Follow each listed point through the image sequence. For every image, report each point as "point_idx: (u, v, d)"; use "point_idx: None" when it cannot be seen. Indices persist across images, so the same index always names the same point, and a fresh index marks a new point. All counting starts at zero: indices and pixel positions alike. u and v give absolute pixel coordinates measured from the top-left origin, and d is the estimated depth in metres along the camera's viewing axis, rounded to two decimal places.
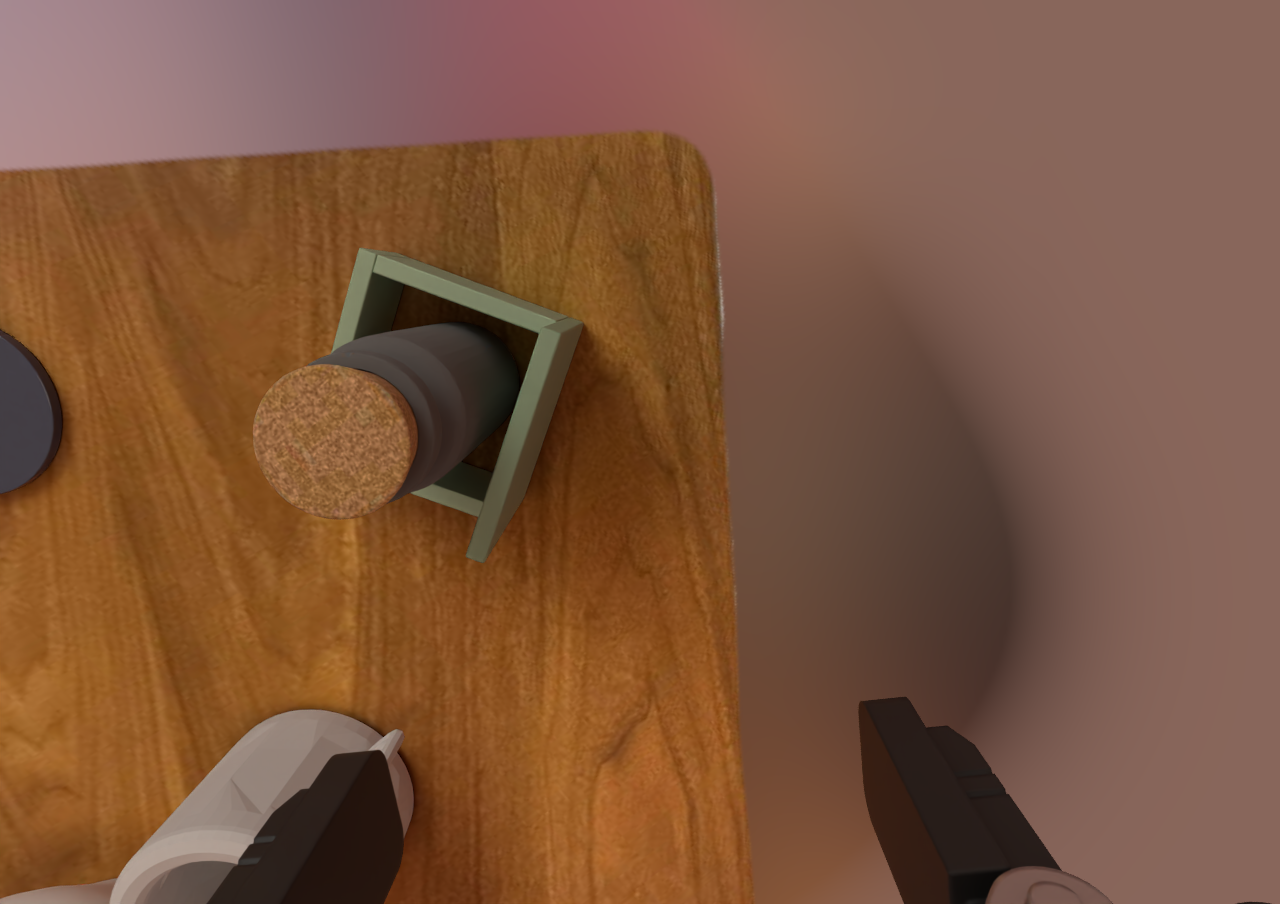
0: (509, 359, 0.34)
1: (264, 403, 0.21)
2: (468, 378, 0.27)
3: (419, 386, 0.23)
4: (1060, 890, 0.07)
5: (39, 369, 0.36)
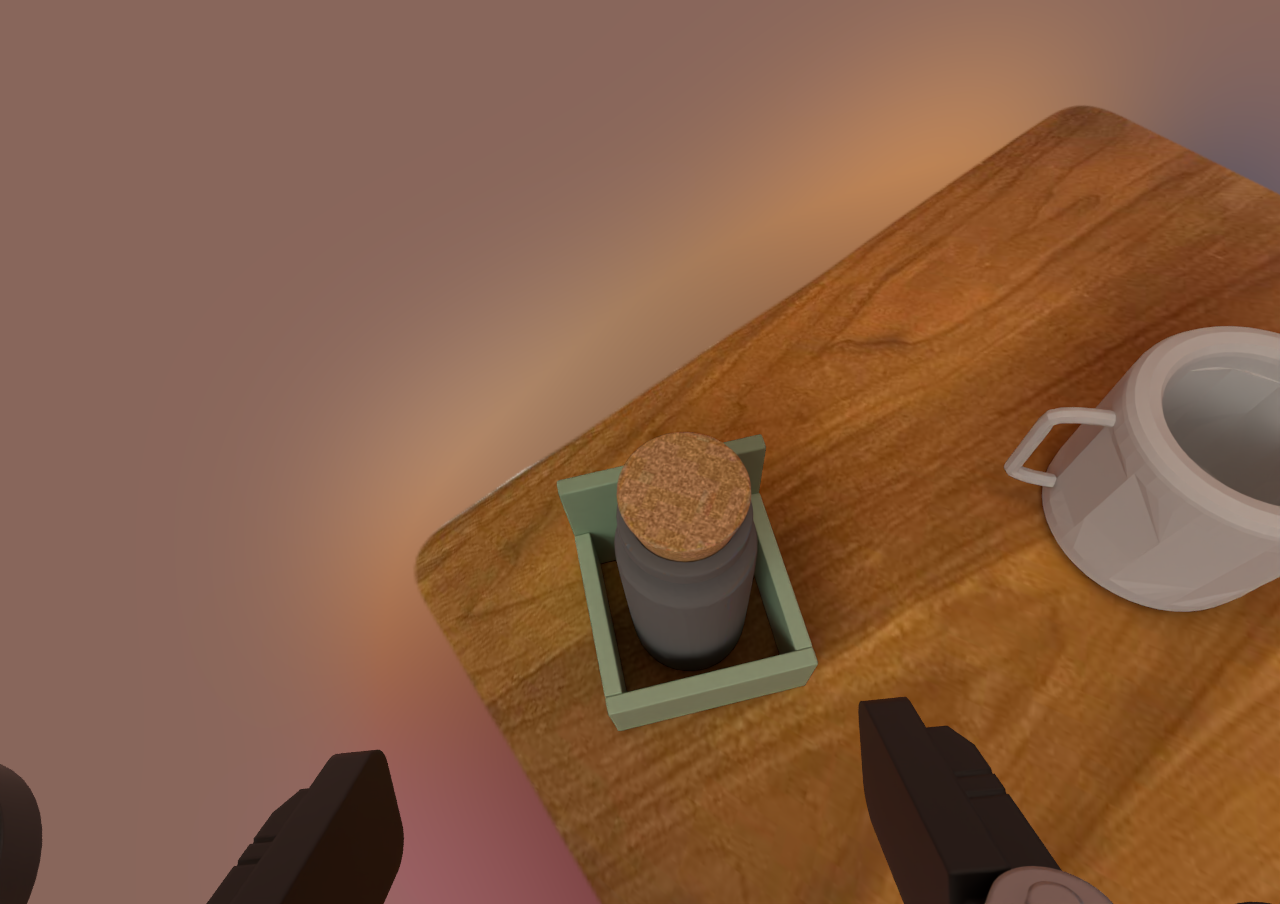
0: None
1: (684, 547, 0.24)
2: None
3: None
4: (1060, 890, 0.07)
5: None
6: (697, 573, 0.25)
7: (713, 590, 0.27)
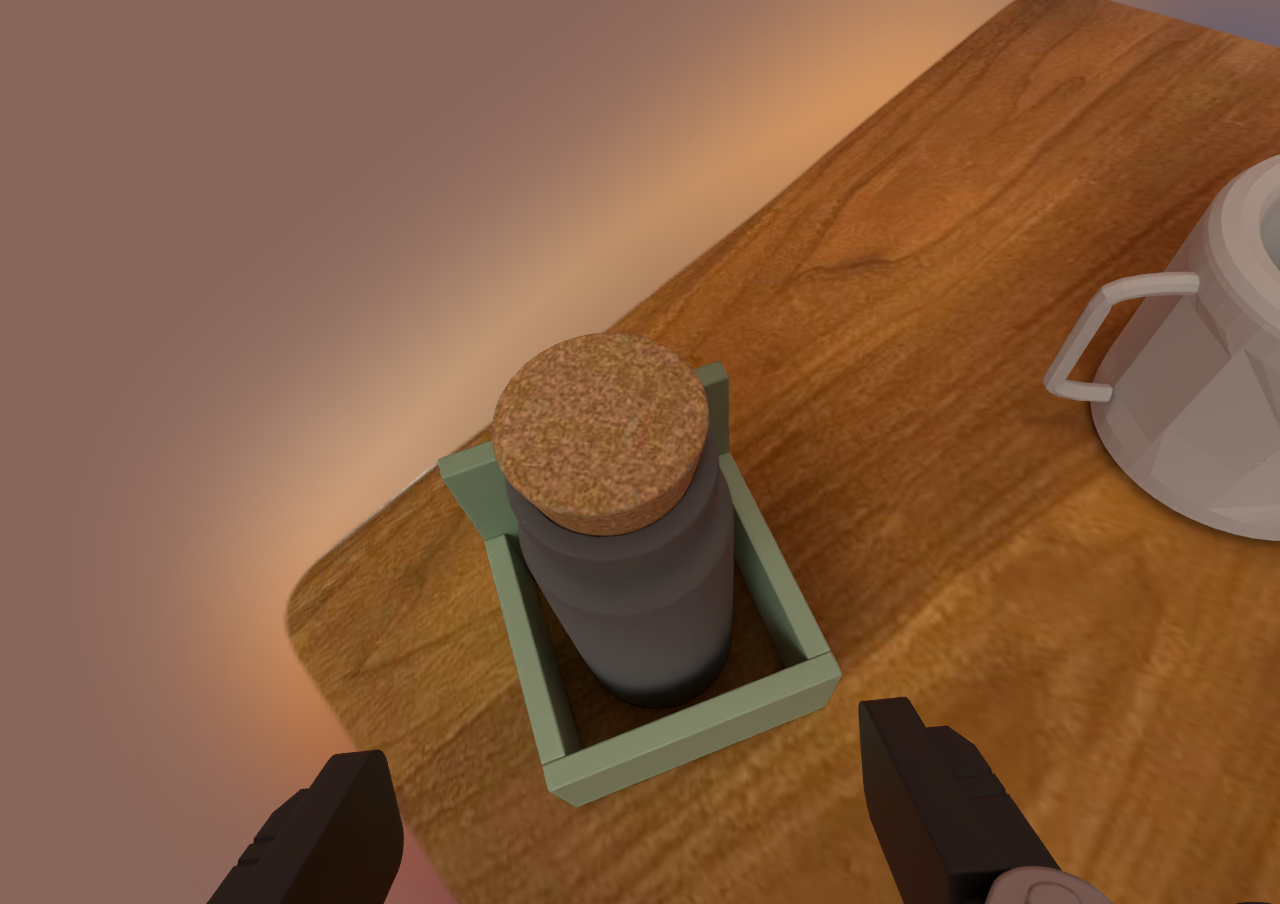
0: None
1: (606, 505, 0.14)
2: None
3: None
4: (1060, 890, 0.07)
5: None
6: (639, 551, 0.16)
7: (673, 580, 0.18)
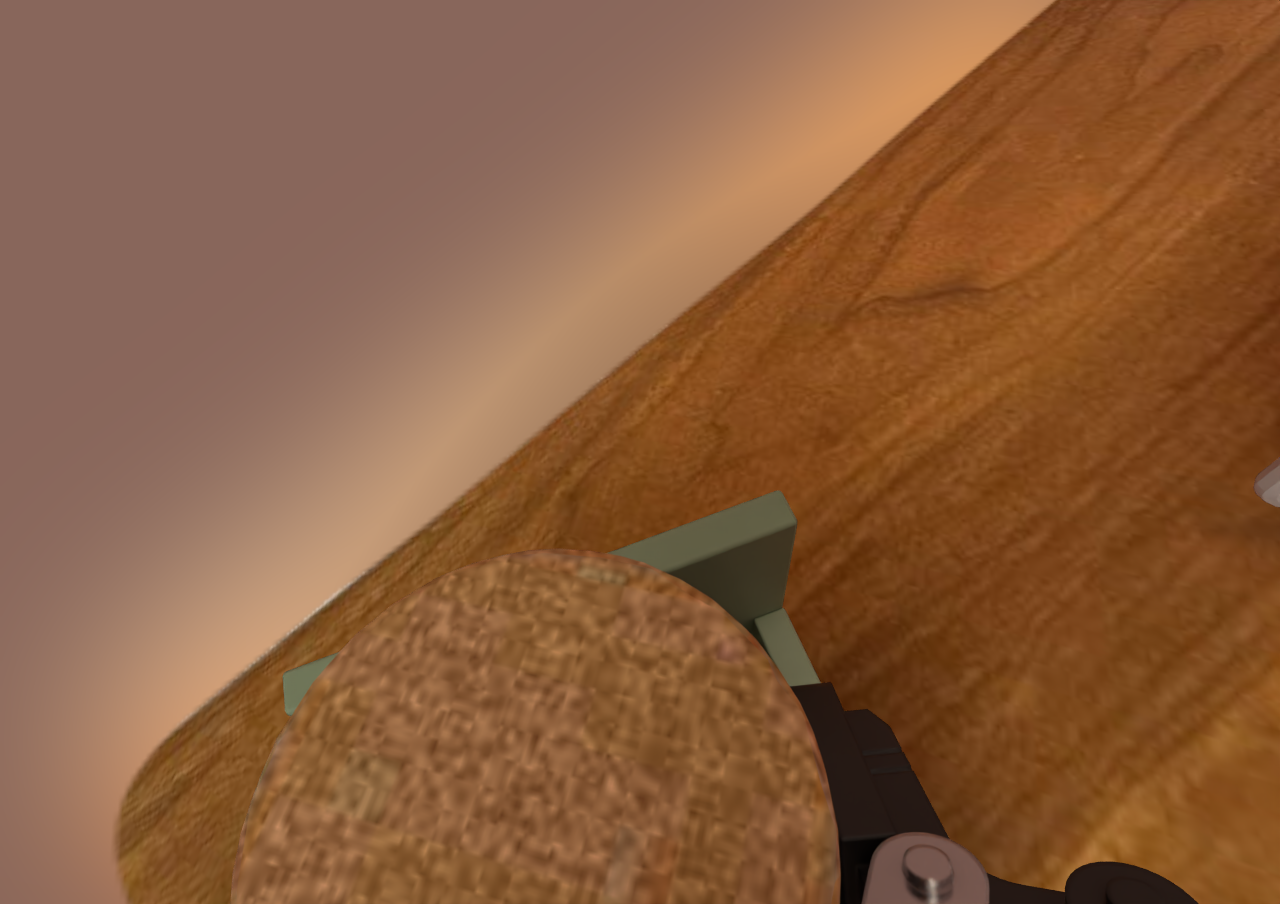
0: None
1: None
2: None
3: None
4: (930, 850, 0.08)
5: None
6: None
7: None
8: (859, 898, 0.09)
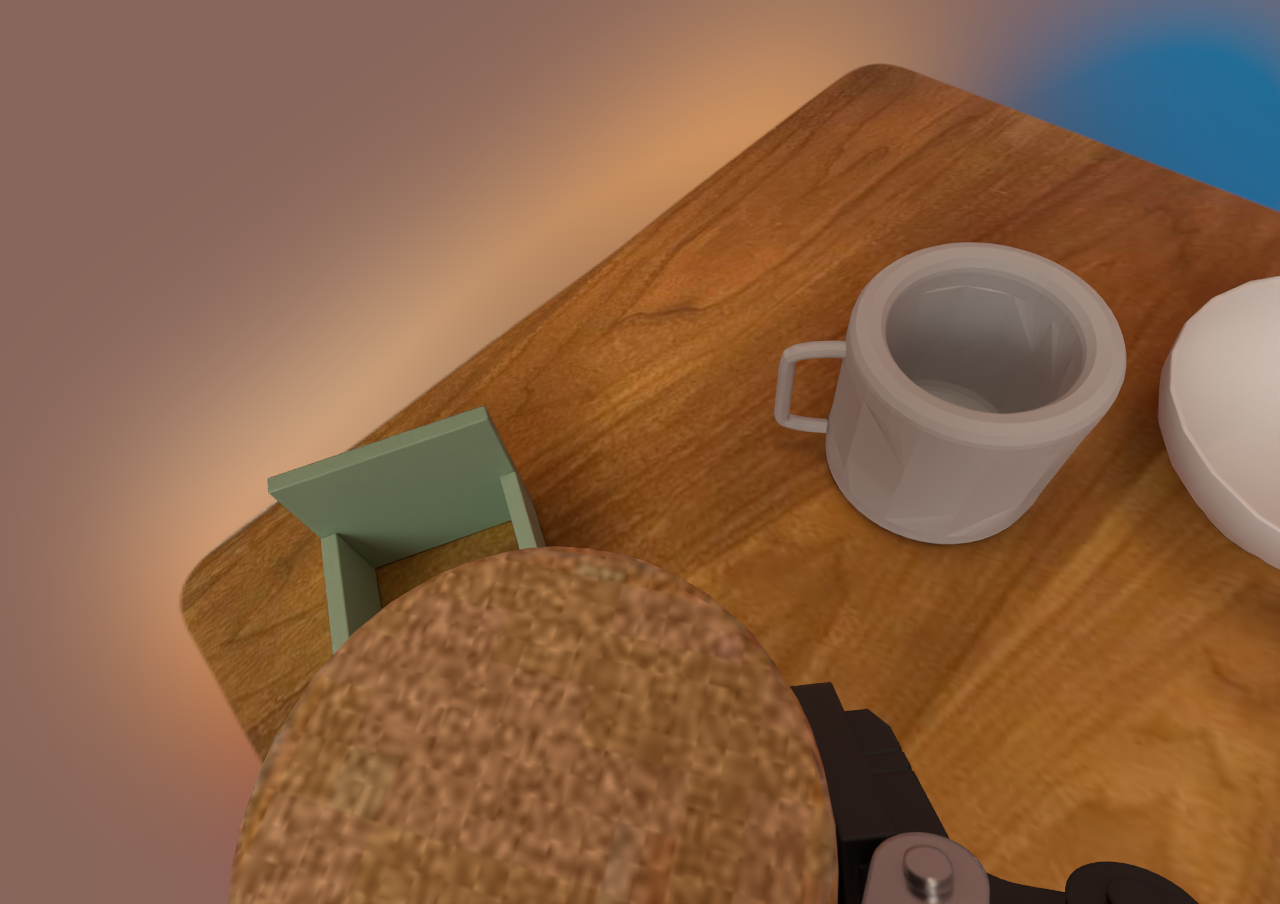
0: None
1: None
2: None
3: None
4: (930, 850, 0.08)
5: None
6: None
7: None
8: (859, 898, 0.09)
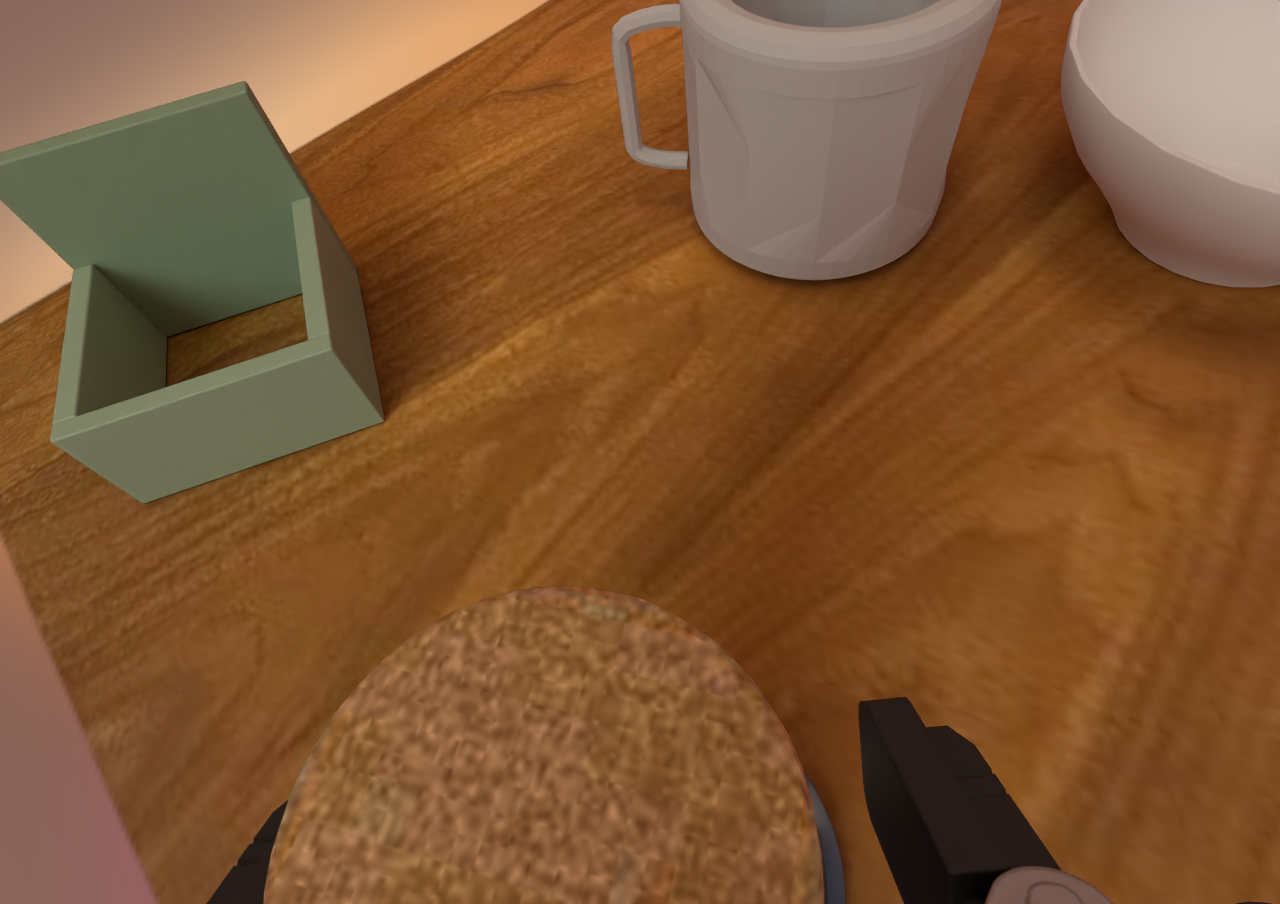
0: None
1: None
2: None
3: None
4: (1060, 890, 0.07)
5: None
6: None
7: None
8: None
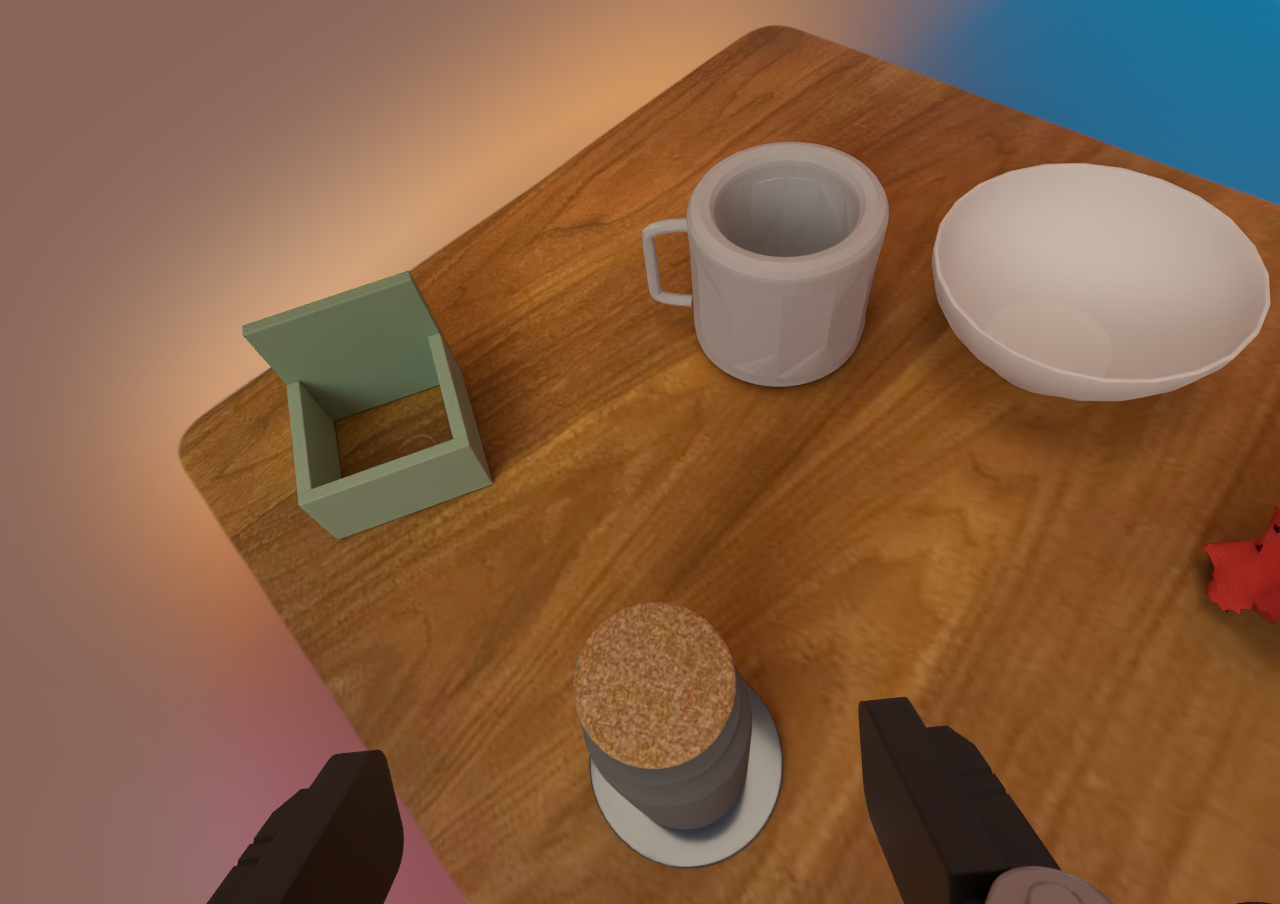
0: None
1: (662, 762, 0.19)
2: None
3: None
4: (1060, 890, 0.07)
5: None
6: (683, 777, 0.21)
7: (706, 780, 0.23)
8: None
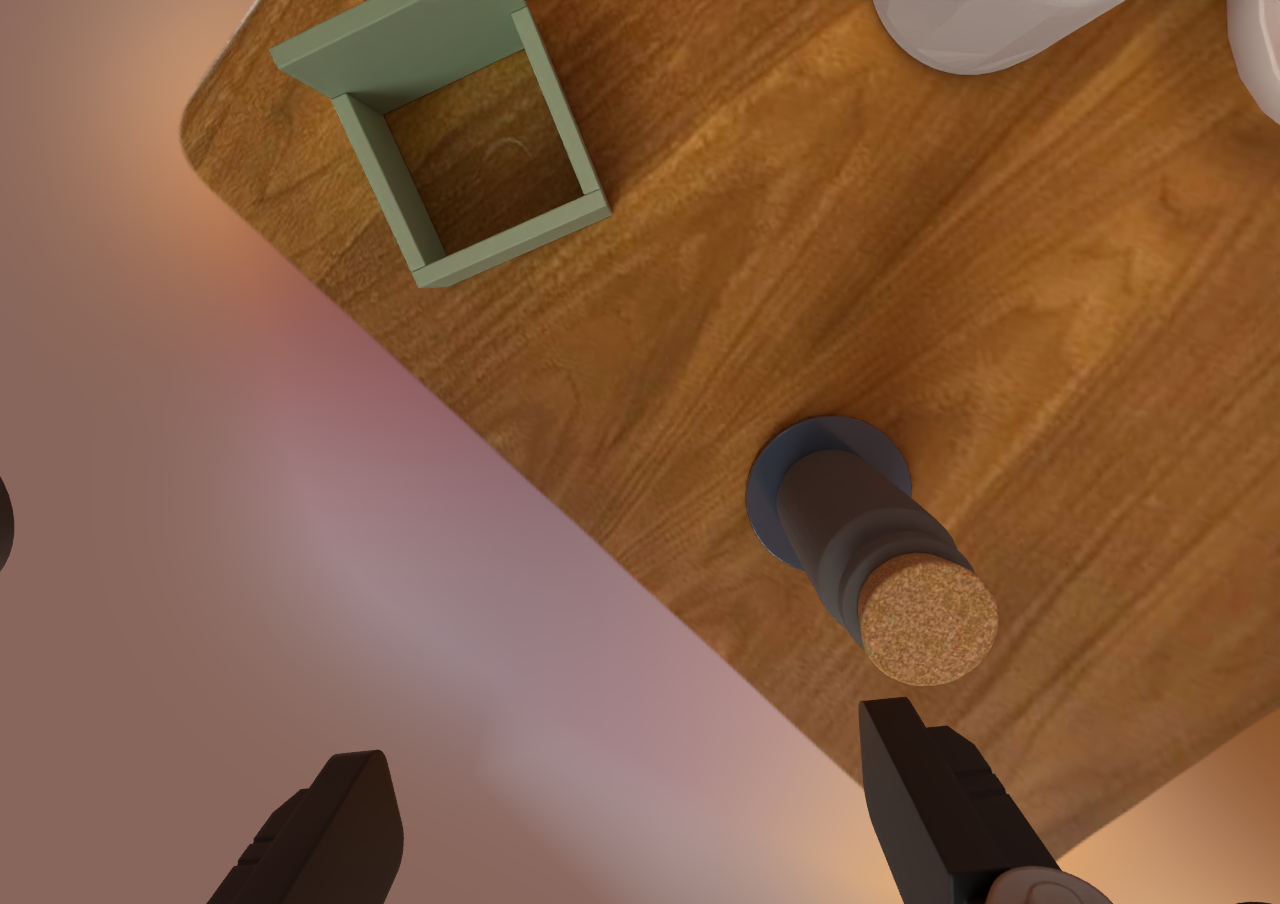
0: (784, 485, 0.38)
1: (934, 683, 0.25)
2: (816, 536, 0.30)
3: (844, 586, 0.27)
4: (1060, 890, 0.07)
5: (752, 466, 0.39)
6: None
7: None
8: None
